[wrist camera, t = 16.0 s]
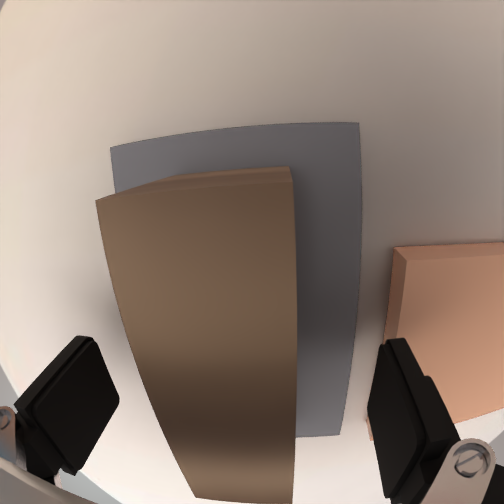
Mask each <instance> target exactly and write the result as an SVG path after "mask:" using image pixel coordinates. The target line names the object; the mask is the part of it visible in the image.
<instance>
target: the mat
mask: <svg viewBox="0 0 504 504" xmlns="http://www.w3.org/2000/svg"><path fill="white" fill-rule="evenodd" d="M110 152H111V162H112V170H113V178H114V186H115V193H119V192H122V191H125V190H128V189H131V188H134V187H137V186H140V185H143V184H147V183H150V182H153V181H156V180H160V179H163V178H166V177H170V176H173V175H181V174H190V173H199V172H210V171H221V170H232V169H246V168H260V167H278V166H289V169H290V173H291V177H292V181H293V196H294V217H295V243H296V279H297V405H296V437H318V436H333V435H340V430H341V425H342V420H343V414H344V409H345V403H346V397H347V390H348V384H349V377H350V370H351V363H352V355H353V347H354V338H355V329H356V318H357V307H358V294H359V279H360V260H361V230H362V181H361V151H360V133H359V123H348V122H326V123H291V124H272V125H258V126H245V127H235V128H225V129H216V130H208V131H200V132H192V133H185V134H179V135H172V136H166V137H160V138H154V139H149V140H143V141H138V142H133V143H128V144H123V145H119V146H114V147H110Z"/></svg>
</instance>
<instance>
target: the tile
mask: <svg viewBox="0 0 504 504" xmlns="http://www.w3.org/2000/svg"><path fill="white" fill-rule="evenodd" d="M394 338H405V339H406V341H407V343H408V344H409V346H410V348H411V350H412V352H413V354H414V356H415V358H416V360H417V362H418V364H419V366H420V368H421V370H422V372H423V374H424V376H427V375H428V376H430V377H431V378H432V380H433V381H434V383H435V385H436V387H437V389H438V391H439V393H440V395H441V398H442V400H443V402H444V404H445V406H446V408H447V410H448V412H449V414H450V417H451V419H452V421H453V423H454V424H455V423H459V422H462V421H466V420H469V419H472V418H475V417H479V416H482V415H485V414H488V413H491V412H493V411H496V410H499V409H502V408H504V242H495V243H473V244H451V245H429V246H407V247H394V251H393V265H392V276H391V286H390V295H389V304H388V311H387V319H386V326H385V332H384V339H383V344H385V341H386V340H387V339H394ZM366 422H367V427H368V432H369V437H370V441H372V440H373V436H372V431H371V427H370V422H369V418H368V416H367V420H366Z"/></svg>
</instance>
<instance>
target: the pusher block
mask: <svg viewBox="0 0 504 504" xmlns="http://www.w3.org/2000/svg"><path fill="white" fill-rule="evenodd" d="M95 201H96V207H97V213H98V219H99V225H100V230H101V235H102V240H103V245H104V250H105V255H106V259H107V264H108V268H109V273H110V277H111V281H112V285H113V289H114V293H115V296H116V300H117V304H118V308H119V311H120V315H121V318H122V322H123V325H124V328H125V332H126V335H127V338H128V341H129V344H130V347H131V350H132V353H133V356H134V359H135V362H136V365H137V368H138V371H139V374H140V376H141V379H142V382H143V385H144V387H145V390H146V392H147V395H148V398H149V400H150V403H151V405H152V408H153V410H154V412H155V415H156V417H157V420H158V422H159V424H160V427H161V429H162V431H163V433H164V436H165V438H166V440H167V442H168V444H169V447H170V449H171V451H172V453H173V455H174V457H175V459H176V461H177V463H178V465H179V467H180V469H181V471H182V473H183V475H184V477H185V479H186V481H187V483H188V485H189V486H190V488H191V490H192V492H193V494H194V496H195V497H196V498H202V499H210V500H218V501H228V502H240V503H256V504H292V498H293V482H294V462H295V438H296V405H297V279H296V243H295V217H294V196H293V181H292V177H291V173H290V169H289V166H278V167H260V168H246V169H232V170H221V171H210V172H199V173H190V174H181V175H173V176H170V177H166V178H163V179H160V180H156V181H153V182H150V183H147V184H143V185H140V186H137V187H134V188H131V189H128V190H125V191H122V192H119V193H116V194H113V195H110V196H107V197H104V198H101V199H98V200H95Z"/></svg>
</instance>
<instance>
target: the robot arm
mask: <svg viewBox="0 0 504 504" xmlns="http://www.w3.org/2000/svg"><path fill="white" fill-rule="evenodd" d="M118 405H119V395H118V393H117V390H116V388H115V386H114V384H113V381H112V379H111V377H110V374H109V372H108V369H107V367H106V364H105V362H104V359H103V357H102V354H101V352H100V349H99V346H98V344H97V343H96V342H95V341H94V339H93V338H92V337H87V336H80V335H79V336H76V337H75V338H74V339H73V340H72V341H71V342H70V343H69V344H68V345H67V346H66V347H65V348H64V349H63V350H62V351H61V352H60V353H59V354H58V355H57V357H56V358H55V359H54V360H53V361H52V362H51V363H50V364H49V365H48V366H47V367H46V368H45V369H44V371H43V372H42V373H41V374H40V375H39V376H38V377H37V378H36V379H35V381H34V382H33V383H32V384H31V385H30V386H29V387H28V388H27V390H26V391H25V392H24V393H23V394H22V395H21V396H20V398H19V399H18V400H17V401H16V402H15V403H14V406H15V408H16V409H17V411H18V412H17V414H15V412H14V411H13V410H12V409H11V408H10V407H7V406H2V407H0V504H97V503H94V502H92V501H89V500H87V499H84V498H82V497H79V496H77V495H75V494H72V493H70V492H68V491H65V490H63V489H62V484H61V480H60V476H59V469H60V468H61V469H62V470H63V471H64V472H66V473H69V474H71V475H74V476H75V475H76V473H77V471H78V470H80V469H82V467H83V466H84V464H85V462H86V460H87V459H88V457H89V455H90V453H91V452H92V450H93V448H94V446H95V445H96V443H97V441H98V439H99V438H100V436H101V434H102V432H103V431H104V429H105V427H106V425H107V424H108V422H109V420H110V419H111V417H112V415H113V413H114V412H115V410H116V408H117V407H118ZM367 412H368V418H369V422H370V427H371V431H372V436H373V440H374V445H375V450H376V455H377V460H378V465H379V470H380V476H381V481H382V487H383V492H384V496H385V498H390V500H391V504H401V503H402V504H504V467H503V466H501V465H498V464H495V463H496V457H495V453H494V451H493V449H492V447H491V446H489V445H488V444H487V443H486V442H484V441H482V440H480V439H474V438H469V439H464V440H461V439H460V437H459V435H458V432H457V430H456V428H455V426H454V423H453V421H452V419H451V417H450V414H449V412H448V410H447V408H446V406H445V404H444V402H443V400H442V398H441V395H440V393H439V391H438V389H437V387H436V385H435V383H434V381H433V380H432V378H431V377H430V376H428V375H427V376H424V374H423V372H422V370H421V368H420V366H419V364H418V362H417V360H416V358H415V356H414V354H413V352H412V350H411V348H410V346H409V344H408V343H407V341H406V339H405V338H394V339H387V340H386V341H385V344H382V345H380V347H379V352H378V357H377V363H376V368H375V373H374V378H373V383H372V387H371V392H370V396H369V401H368V406H367Z"/></svg>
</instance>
